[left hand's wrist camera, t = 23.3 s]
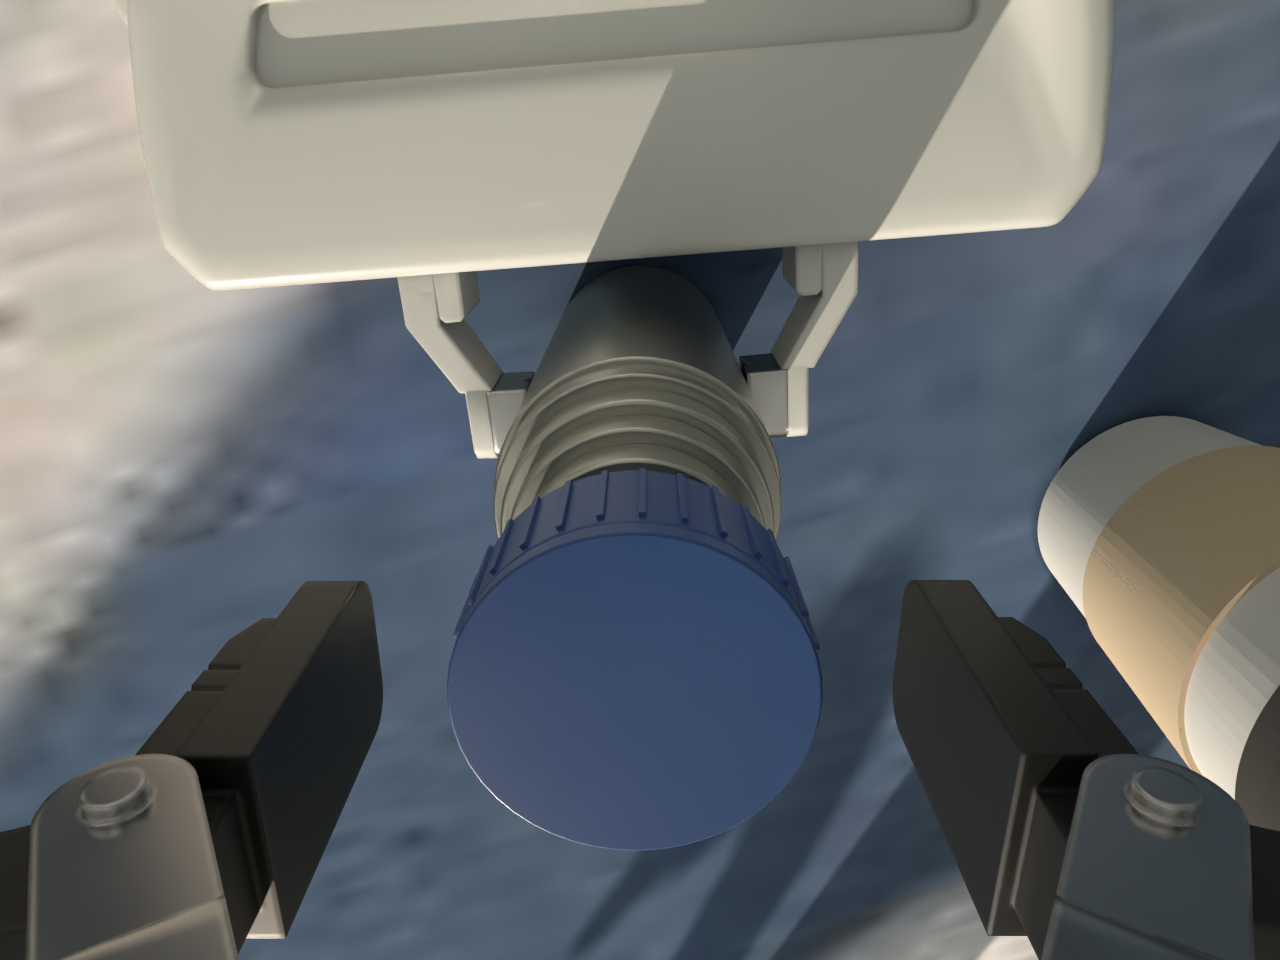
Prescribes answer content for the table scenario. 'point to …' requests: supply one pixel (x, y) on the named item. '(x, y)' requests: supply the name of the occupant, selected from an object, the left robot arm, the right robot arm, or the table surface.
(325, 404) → the table surface
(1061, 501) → the coffee cup
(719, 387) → the bottle
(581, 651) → the cap
